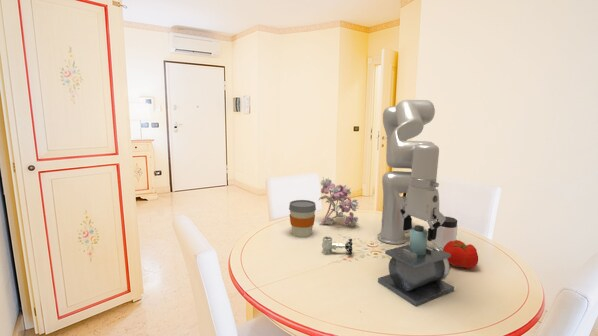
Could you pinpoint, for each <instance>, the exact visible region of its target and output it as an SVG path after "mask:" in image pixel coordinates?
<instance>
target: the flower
mask: <svg viewBox="0 0 598 336" xmlns="http://www.w3.org/2000/svg"><path fill="white" fill-rule="evenodd" d="M320 185H321V186H322V188H321V189H320V192H321V193H322V194H325V195H323V196H321V197H319V199H318V201H320V200H323V199H327V200H326V201H325V203H328V204H329V205H328V210H327V212H326V214H325V216H324V218H323V219H322V221H321V222H320V223H319V226H322V225H329V226H331V225H333V224H334V223H335V220H334V219H335V218H344V217H345V221H343V223H344V224H345V225H349V224H350V226H352V227H354V226H356V225H359V223H358V221H359V217H358V216H354V212H356V211H357V210H359V207H358V204H359V202H358V199H353V200H352V199H351V197H350V196H349V195H351V194H352V192H351V187H348V186H347V184H345V185H342V184H337V185H336V184H335V183H333V182H332V180H331V179H329V178H325V179H324V177H323V176H322V180H321V181H320ZM328 194H330V195H329V196H328ZM335 202H336V203H335ZM338 202H339V203H338ZM331 207H333V208H332V209H331ZM340 210H341V211H340ZM339 211H340V212H339ZM332 213H335V216H333V217H330V216H331V215H332ZM344 213H349V214H348V215H349V216H347V215H344Z"/></svg>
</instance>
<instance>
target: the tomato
mask: <svg viewBox="0 0 598 336" xmlns="http://www.w3.org/2000/svg"><path fill="white" fill-rule="evenodd" d="M442 249H443V250H442V251H444V252H447V253H449V254H451V257H449V258H447V259H448V262H449V265H451V266H454V267H458V268H460V267H463V268H465V269H473V268H474V267H476V266H477V265H478V263H479V255H478V251H477V248H476V247H475V245H472V244H465V242H463V241H461V240H460V239H459V240H458V239H456V240H455V241H449V242H448V243H447V244H446V245H445V246H444V248H442Z"/></svg>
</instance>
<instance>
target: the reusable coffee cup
mask: <svg viewBox="0 0 598 336" xmlns="http://www.w3.org/2000/svg"><path fill="white" fill-rule="evenodd" d="M288 210H289V222H290V225H291V232H292V236H294V237H297V238H308V237H311V236H312V233H313V232H312V231H313V227H314V224H315V218H316V214H315V213H316V210H317V207H316V202H315V201H313V200H307V199H296V200H292V201H290V202H289V206H288Z"/></svg>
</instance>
